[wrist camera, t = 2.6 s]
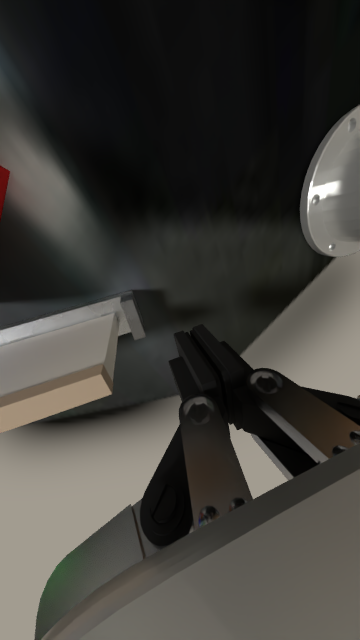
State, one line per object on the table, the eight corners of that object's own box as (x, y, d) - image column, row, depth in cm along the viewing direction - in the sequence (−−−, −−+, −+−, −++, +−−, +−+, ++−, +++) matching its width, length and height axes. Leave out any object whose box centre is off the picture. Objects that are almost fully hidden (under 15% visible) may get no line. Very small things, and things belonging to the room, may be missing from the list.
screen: (114, 312, 16) (100, 374, 9) (119, 325, 17) (112, 394, 9) (-36, 355, 14) (-204, 475, 7) (-24, 369, 15) (-166, 491, 8)
